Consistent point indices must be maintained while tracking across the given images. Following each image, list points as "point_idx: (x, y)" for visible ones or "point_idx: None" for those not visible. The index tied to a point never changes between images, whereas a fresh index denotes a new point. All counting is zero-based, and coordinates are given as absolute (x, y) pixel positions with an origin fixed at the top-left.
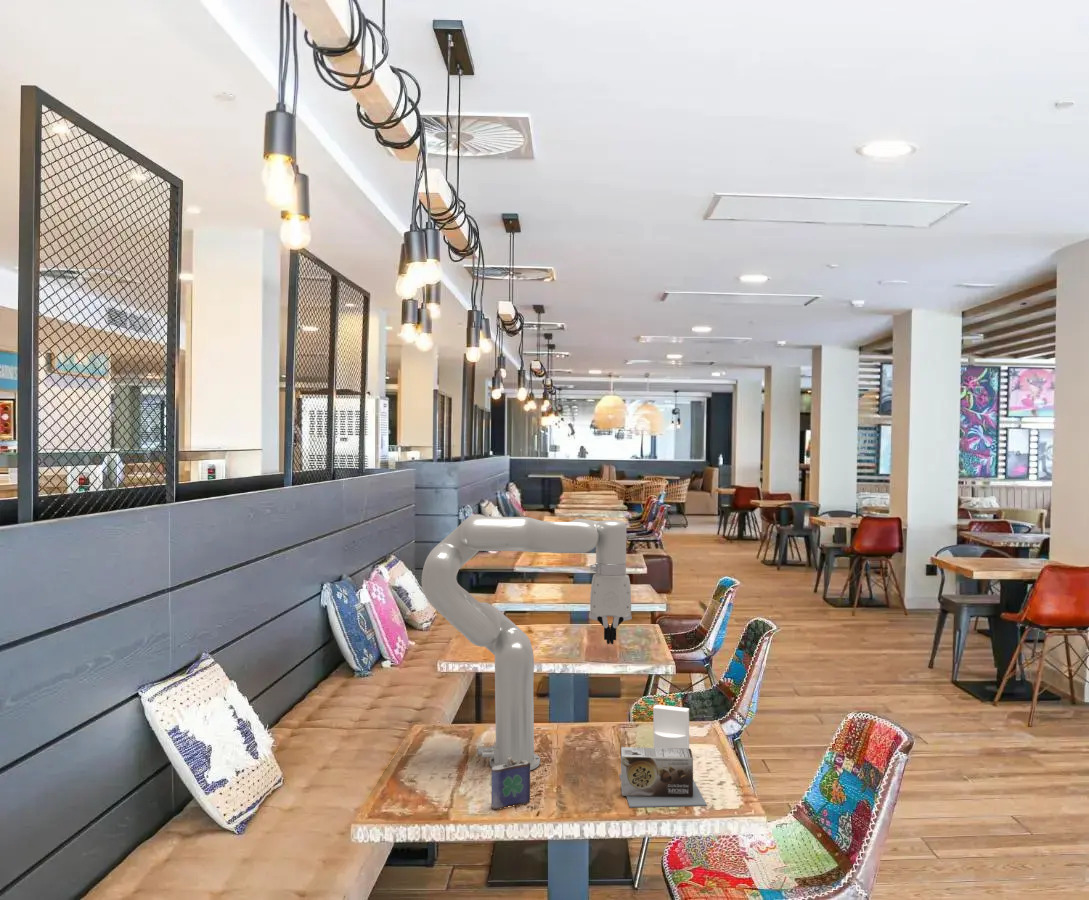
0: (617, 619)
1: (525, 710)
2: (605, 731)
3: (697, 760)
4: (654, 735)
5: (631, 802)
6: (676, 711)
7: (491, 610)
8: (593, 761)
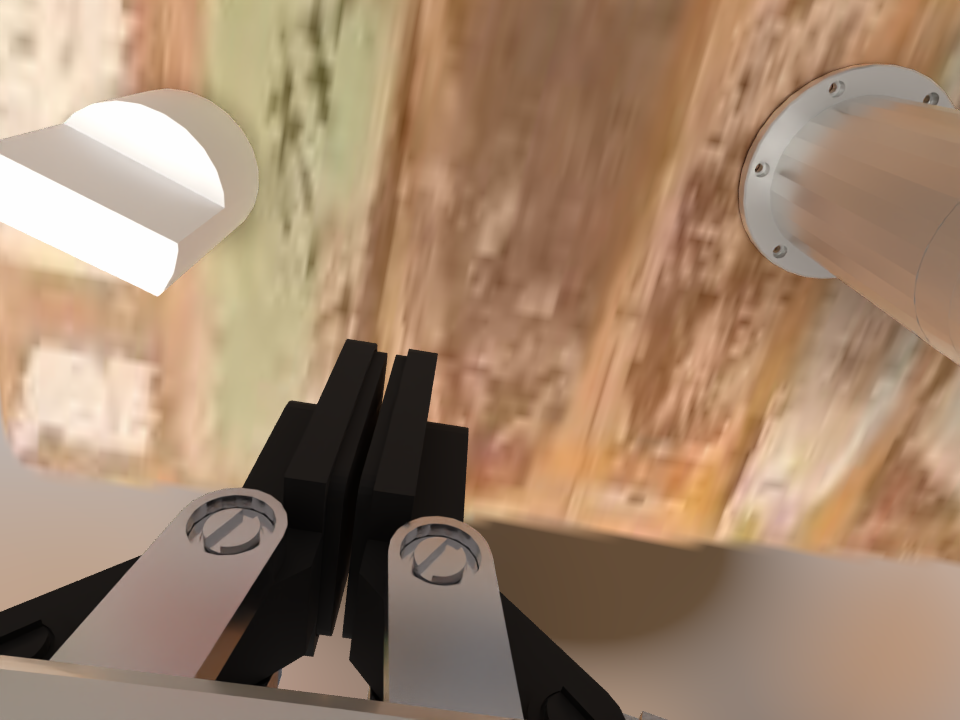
0: (106, 639)
1: None
2: None
3: (73, 82)
4: (227, 185)
5: None
6: (45, 175)
7: None
8: (522, 149)
